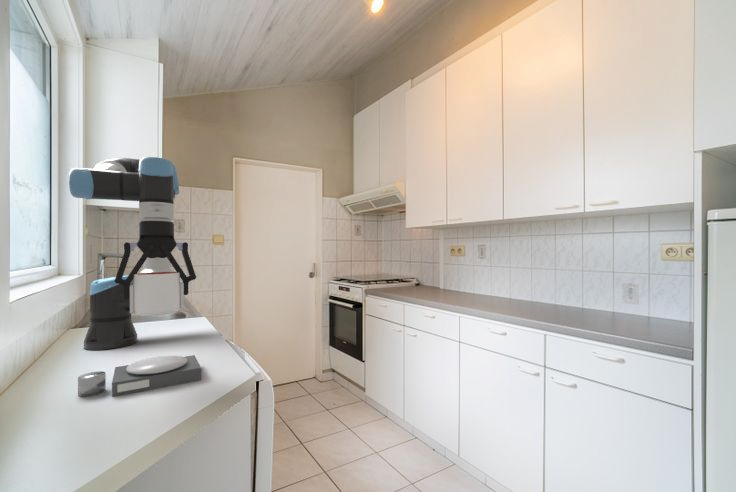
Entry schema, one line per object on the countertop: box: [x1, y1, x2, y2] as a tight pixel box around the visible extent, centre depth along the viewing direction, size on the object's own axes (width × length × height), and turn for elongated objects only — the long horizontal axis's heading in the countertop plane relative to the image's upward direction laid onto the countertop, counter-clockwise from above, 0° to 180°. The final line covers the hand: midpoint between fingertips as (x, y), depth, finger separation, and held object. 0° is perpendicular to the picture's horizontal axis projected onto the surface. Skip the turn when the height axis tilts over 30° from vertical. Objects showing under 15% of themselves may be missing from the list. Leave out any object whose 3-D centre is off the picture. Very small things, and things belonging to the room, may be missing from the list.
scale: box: [111, 355, 202, 397], centre depth 90 cm, size 13×18×4 cm
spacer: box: [77, 371, 107, 398], centre depth 82 cm, size 5×5×4 cm
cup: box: [133, 271, 181, 317], centre depth 90 cm, size 10×10×10 cm
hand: (157, 310), depth 90 cm, fingers closed on cup, 10 cm apart
